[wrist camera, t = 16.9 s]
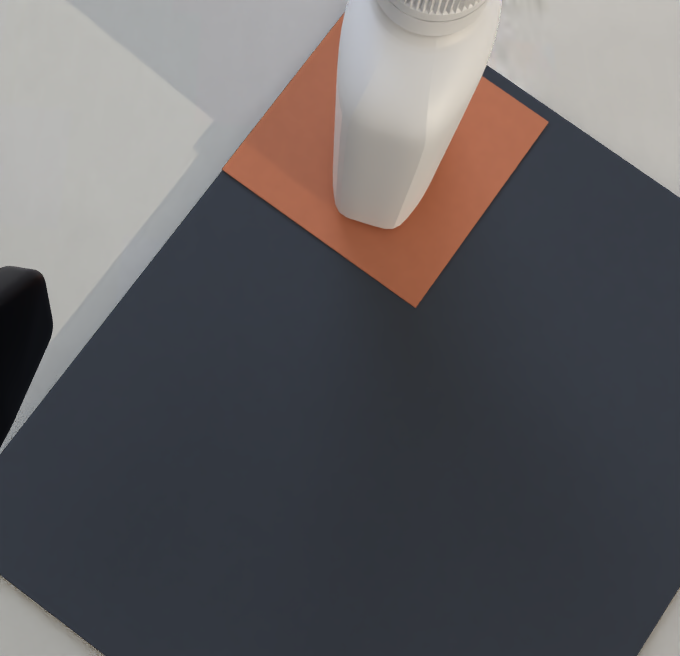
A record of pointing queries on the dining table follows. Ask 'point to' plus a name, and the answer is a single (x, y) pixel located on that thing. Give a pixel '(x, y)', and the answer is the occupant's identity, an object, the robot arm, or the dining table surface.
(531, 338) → the desk mat
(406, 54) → the eye dropper bottle
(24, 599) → the dining table surface
